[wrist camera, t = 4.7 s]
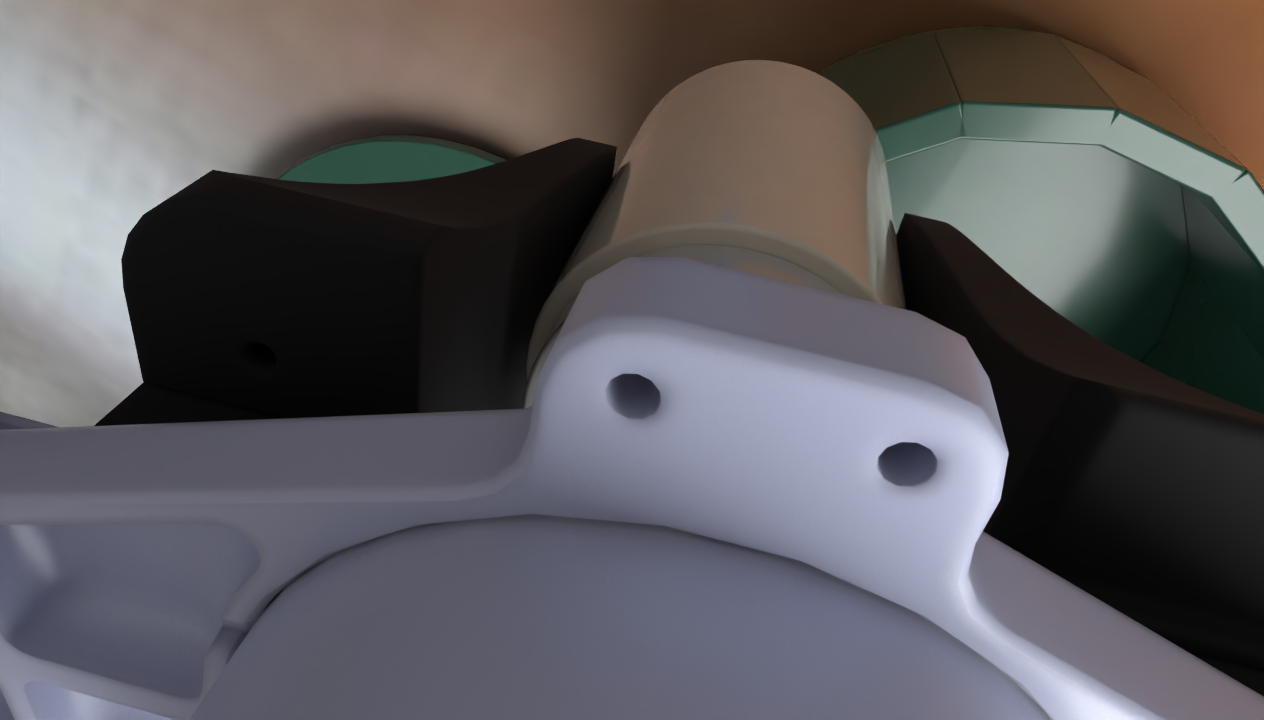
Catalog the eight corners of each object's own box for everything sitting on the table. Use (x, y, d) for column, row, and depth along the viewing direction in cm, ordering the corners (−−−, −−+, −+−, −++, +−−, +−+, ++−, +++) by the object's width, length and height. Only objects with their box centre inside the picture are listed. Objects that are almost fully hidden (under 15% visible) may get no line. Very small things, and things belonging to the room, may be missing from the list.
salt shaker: (867, 312, 16) (888, 617, 10) (629, 292, 16) (521, 566, 11) (907, 64, 13) (964, 279, 8) (625, 53, 14) (483, 243, 8)
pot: (1123, 482, 26) (1190, 644, 21) (695, 436, 28) (666, 573, 23) (1300, 33, 19) (1463, 121, 14) (708, 17, 21) (671, 89, 16)
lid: (661, 519, 31) (631, 649, 26) (302, 475, 33) (217, 587, 28) (663, 139, 23) (621, 228, 18) (196, 116, 25) (56, 189, 21)
